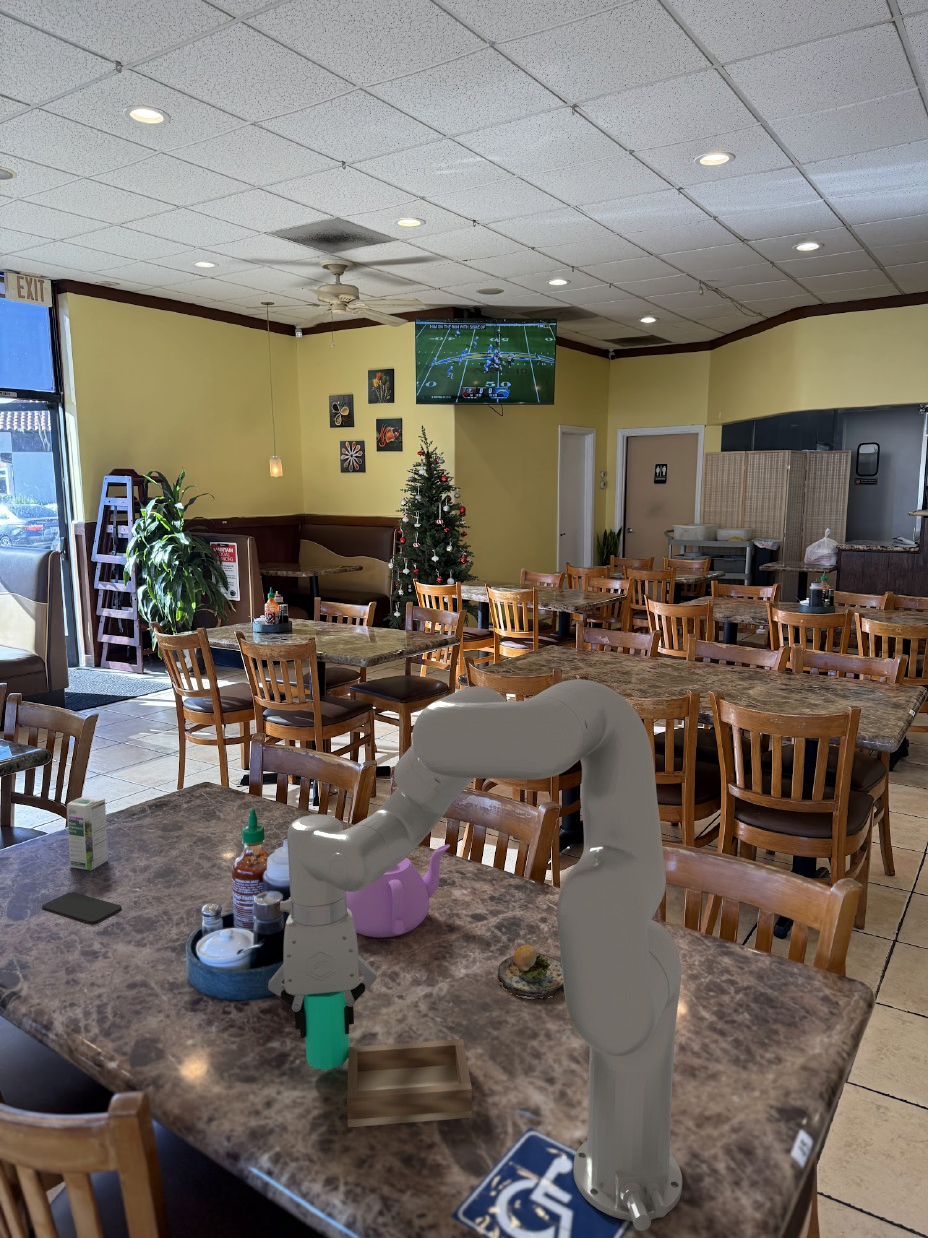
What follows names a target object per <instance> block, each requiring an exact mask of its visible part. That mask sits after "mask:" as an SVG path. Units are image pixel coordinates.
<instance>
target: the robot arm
mask: <svg viewBox="0 0 928 1238" xmlns="http://www.w3.org/2000/svg"><path fill="white" fill-rule="evenodd" d="M415 720H416V721H415V722H414V724H413V729H412V731H411V733H412V734H411V741H412V744H411V745H410V746H409V748H408V749H407V751H405V752H404V753H403V755H402V756H401V757H400V758H399V759H398V761H397V763H396V764H395V766H394V767H395V768H394V771H393V774H394V780H395V784H396V786H397V788H396V789H395V790H394V791H393V792H392V794H391V795H390V796H389V797H388V798H387V799H386V800H385V801H384V803H382V805H381V806H380V807H379V809H377V811H375V812H374V813H372V814H371V815H370V816H368V817H366V818H363V820H361V821H359V822H358V823H355V824H354V825H352V826H351V827H349V828H346V829H344V828H343V827H344V826H343V824H342V822H341V821H340V820H339V819H338V818H336V816H333V815H330V814H329V815H328V814H310V815H305V816H302V817H299V818H297V819H296V820H294V821H292V823H290V825H289V826H288V828H287V835H286V836H287V839H286V841H287V856H288V857H287V858H288V875H289V893H290V897H288V899H286V900H281V901H280V902H279V908H280V909H279V911H280V912H286V913H288V917H287V919H286V922H285V927H284V935H283V963H282V964H281V966H279V968H278V969H277V970H276V972H275V973H274V975H272V977H271V978H270V979H269V981H268V983H267V984H268V985H267V989H268V991H270V992H271V993H273V994H275V996H279V997H280V999H281V1000H282V1001H283V1002H285V1003H286V1004H287V1005H289V1007H291V1009H292V1011H293V1012H294V1022H295V1023H294V1024H295V1026H294V1027H295V1030H299V1033H300V1039H306V1024H305V1010H304V995H311V994H323V993H334V992H343V991H344V998H345V1002H346V1005H347V1006H346V1007H345V1008H344V1018H345V1034H350V1025H355V1011H354V1010H355V1009H354V1006H355V1003H356V1002H357V1000H359V999H360V997H361V996H362V995H363V994H364V993H365V992H366V990H367V989H368V988H369V987H371V986H372V985H373V984H374V983H375V982H376V981H377V979H378V976H377V971H376V969H374V968H373V967H372V966H371V965H370V964H369V963H368V962H367V961H366V960H365V959H363V957H362V956H361V955H360V954H359V953H360V952H359V943H358V942H359V941H358V937H357V936H358V935H357V932H356V929H355V924H354V920H353V916H352V912H351V911H350V910H349V909H348V908H347V899H346V891H349V892H356V891H360V890H362V889H364V888H366V887H368V886H369V885H370V884H372V883H373V882H374V881H376V880H377V879H379V878H380V877H381V876H382V875H383V874H385V873H386V872H388V871H389V870H390V869H392V868H393V867H395V866H396V865H397V864H399V863H400V862H402V861H403V860H404V859H405V858H408V857H409V856H410V855H411V854H412V852H413V851H414V850H415V849H416V848H417V847H418V846H419V845H420V844H421V843H422V842H423V841H424V839H425V838H426V837H427V836H429V834H430V832H432V830H433V829H434V828H436V826H437V824H438V823H439V822H440V821H441V819H442V818H443V817H444V816H445V814H446V813H447V811H448V810H449V808H450V806H451V805H453V802H454V801H456V799H457V798H458V797H459V796H460V795H461V794H462V792H464V790H465V789H466V788H467V787H468V785H470V784H471V782H472V781H473V780H474V779H482V780H483V779H485V780H488V779H489V780H491V779H492V780H493V779H495V780H542V779H548V778H552V777H556V776H558V775H561V774H563V773H564V772H566V771H568V770H569V769H570V768H572V767H573V766H574V765H575V764H577V763H578V762H579V761H580V764H581V782H580V783H581V787H580V807H581V808H580V810H581V814H582V815H581V817H582V823H583V824H582V825H583V843H584V844H583V850H582V851H583V852H582V854H581V857H580V859H579V860H578V861H577V863H576V864H575V865H574V866H573V867H572V869H571V870H570V871H569V872H568V874H567V875H566V877H565V879H564V881H563V883H562V885H561V887H560V890H559V895H558V899H557V900H558V901H557V909H556V921H557V931H558V932H557V933H558V941H559V952H560V953H559V954H560V961H561V964H562V974H563V984H564V985H563V990H564V991H563V993H564V999H565V1005H566V1009H567V1013H568V1016H569V1019H570V1021H571V1024H572V1026H573V1027H574V1029H575V1031H576V1032H577V1034H578V1036H579V1037H580V1038H581V1039H582V1040H583V1041H584V1042H585V1043H586V1044H587V1045H588V1046H589V1057H588V1058H589V1063H588V1064H589V1065H588V1067H589V1068H588V1098H587V1099H588V1102H587V1103H588V1104H587V1106H588V1108H587V1140H585V1141H583V1143H582V1144H581V1145H580V1146H579V1147H578V1149H577V1150H576V1152H575V1154H574V1159H573V1178H574V1183H575V1185H576V1186H577V1189H578V1191H579V1192H580V1194H581V1195H582V1196H583V1198H584V1199H585V1200H586V1201H587V1202H589V1204H590V1205H591V1206H593V1207H595V1208H596V1209H597V1210H599V1211H601V1212H603V1213H604V1214H606V1215H608V1216H610V1217H614V1218H617V1219H620V1220H625V1221H629V1222H630V1221H631V1222H632V1224H633V1226H634V1228H635V1230H637V1231H640V1232H641V1231H644V1232H645V1230H647V1229H649V1228H650V1226H651V1224H652V1220H654V1219H659V1218H664V1217H666V1216H667V1214H668V1213H670V1212H671V1211H672V1210H673V1209H674V1208H675V1207H676V1206H677V1204H678V1202H679V1201H680V1199H681V1195H682V1191H683V1175H682V1174H683V1173H682V1171H681V1168H680V1166H679V1164H678V1162H677V1160H676V1159H675V1157H674V1156H673V1154H671V1128H672V1124H671V1123H672V1103H673V1100H672V1099H673V1082H674V1081H673V1079H674V1078H673V1077H674V1076H673V1075H674V1065H675V1064H674V1063H675V1062H674V1061H675V1043H676V1042H675V1040H676V1027H677V1016H678V1007H679V999H680V991H681V984H682V983H681V982H682V963H681V961H682V960H681V956H680V953H679V952H680V951H679V949H678V946H677V944H676V942H675V940H674V939H673V937H672V935H670V933H669V931H668V930H666V928H664V926H663V925H661V924H660V923H659V922H657V921H656V920H653V917H654V915H655V914H656V912H657V910H658V909H659V906H660V905H661V902H662V900H663V898H664V895H665V892H666V888H667V876H666V869H665V859H664V850H663V841H662V840H663V839H662V829H661V818H660V812H659V811H660V809H659V804H658V794H657V782H656V773H655V772H656V771H655V763H654V756H653V755H654V754H653V750H652V745H651V742H650V741H651V740H650V738H649V735H648V734H649V733H648V732H647V729H646V727H645V724H644V722H643V720H642V719H641V717H640V715H639V714H638V712H637V711H636V709H635V708H634V707H633V706H632V705H631V703H630V702H629V701H628V700H626V698H625V697H623V696H622V695H621V694H620V693H618V692H617V691H616V690H614V689H612V688H610V687H609V686H606V685H605V684H602V683H600V682H597V681H593V680H591V679H581V678H577V679H569V680H564V681H562V682H558V683H556V684H554V685H552V686H549V687H548V688H547V689H544V690H543V691H541V692H539V693H538V694H536V695H534V696H532V697H530V698H528V699H526V700H516V701H515V700H514V701H513V700H512V701H507V700H506V698H505V697H504V696H503V695H501V694H500V693H499V692H498V691H496V690H495V689H493V688H489V687H486V686H480V685H478V686H470V687H469V686H468V687H465V688H462V689H460V690H458V691H454V692H453V693H450V694H448V695H447V696H444V697H442V698H439V699H437V700H434V701H433V702H432V703H430V704H428V705H427V706H426V707H424V709H423V710H422V711H421V712H420V714H419V715H417V718H416V719H415ZM360 975H362V977H361V978H360ZM283 982H284V983H283Z"/></svg>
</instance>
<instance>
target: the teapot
mask: <svg viewBox="0 0 928 1238" xmlns="http://www.w3.org/2000/svg"><path fill="white" fill-rule="evenodd" d="M450 846H451V844H445V845H441V846H439V847H438V848H436V849H435V850H434V851H433V852H432V854H431V856H430V859H429V868H428V870H427V873H426V874H425V875H424V876H423V877H422V876H421V874H420V873H419V871H418V869H417V868H416V866H415V865H414V863H412V861H411V860H410V859H409V858H408V857H406V858H405V859H404V860H403V861H402V862H400V863H399V864H397V865H396V866H395V867H393V868H392V869H390V870H389V871H388V872H386V873H385V874H383V875H382V876H381V877H380V878H379V879H377V880H376V881H374V882H373V883H372V884H370V885H369V886H368V887H366V888H364V889H362V890H360V891H356V892H349V891H346V899H347V908H348V909H349V910H350V911H351V912H352V916H353V920H354V924H355V929H356V934H359V935H363V936H366V937H370V938H391V937H392V938H393V937H396V936H397V937H398V936H401V935H404V934H406V933H409V932H411V931H413V930H415V929H416V928H417V927H418V926H419V925H420V924H421V923H422V922H423V921H424V919H425V918H426V917H427V915H428V913H429V911H430V899H431V898H432V896H434V894H435V893H436V891H437V890H438V887H439V884H440V867H441V864H440V863H441V859H442V857H443V855H444V853H445V852H446V851H447V850H448V849H449V848H450Z"/></svg>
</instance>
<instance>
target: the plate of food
mask: <svg viewBox="0 0 928 1238" xmlns="http://www.w3.org/2000/svg"><path fill="white" fill-rule="evenodd" d="M516 942H517V945H518V948H516V950H514V951H515V952H514V953H513V955H511V956H509V957H506V958H505V959H504V960H502V961H501V962H500V964H499V966H498V967H497V976H496V977H497V979H498V980H499V982H502V983H503V987H504V988H505V989H507V991H505V992H506V993H508V994H509V993H512V994H510V995H511V996H514V995H518V996H527V997H534V998H540V997H543V998H546V999H547V998H548V997H550V996H553V997H554V995H555V993H556V991H557V990H558V989H560V988H562V987H564V984H563V974H562V964H561V962H560V961H559V960H557V959H556V958H554V957H551V956H549V955H547V954H543V953H538V952H537V949H536V948H535V947H534V946H533V945H530V944H524V945H521V946H520V944H519V941H518V940H516ZM550 970H551V971H550ZM497 979H496V980H497ZM498 980H497V981H498Z"/></svg>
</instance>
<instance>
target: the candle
mask: <svg viewBox="0 0 928 1238" xmlns="http://www.w3.org/2000/svg"><path fill="white" fill-rule="evenodd" d="M346 1006H347V1005H346V1002H345V998H344V991H343V992H334V993H323V994H311V995H304V1010H305V1024H306V1037H305V1054H306V1055H305V1056H306V1062H307V1063H308V1064H309V1066H310V1067H312V1068H315V1069H318V1070H330V1069H334V1068H337V1067H339V1066H342V1065H343V1064H345V1063H346V1061H347V1060H349V1047H350V1038H349V1034H350V1033H349V1034H345V1018H344V1008H345V1007H346Z"/></svg>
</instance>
